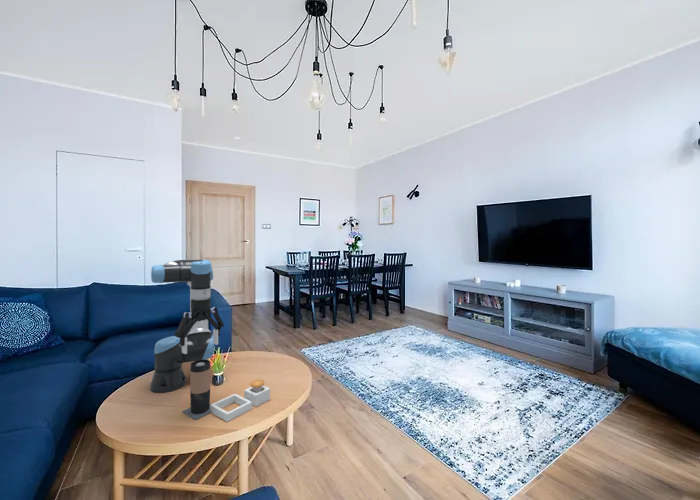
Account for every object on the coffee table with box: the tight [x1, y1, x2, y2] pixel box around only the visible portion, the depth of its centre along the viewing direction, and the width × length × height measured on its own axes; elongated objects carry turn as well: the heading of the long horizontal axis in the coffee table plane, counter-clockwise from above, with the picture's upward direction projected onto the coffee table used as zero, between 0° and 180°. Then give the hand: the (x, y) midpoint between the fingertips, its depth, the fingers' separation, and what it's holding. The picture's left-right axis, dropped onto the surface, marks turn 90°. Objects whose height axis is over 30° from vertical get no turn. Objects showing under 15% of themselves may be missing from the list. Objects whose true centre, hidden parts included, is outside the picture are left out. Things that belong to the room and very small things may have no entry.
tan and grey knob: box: [249, 378, 265, 393], centre depth 141 cm, size 6×6×8 cm
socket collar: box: [210, 393, 253, 423], centre depth 133 cm, size 12×12×3 cm
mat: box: [182, 403, 212, 421], centre depth 132 cm, size 10×10×1 cm
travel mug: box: [189, 359, 211, 414], centre depth 132 cm, size 8×8×20 cm
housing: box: [243, 385, 271, 407], centre depth 141 cm, size 8×8×5 cm
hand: (200, 348), depth 131 cm, fingers open, 13 cm apart
